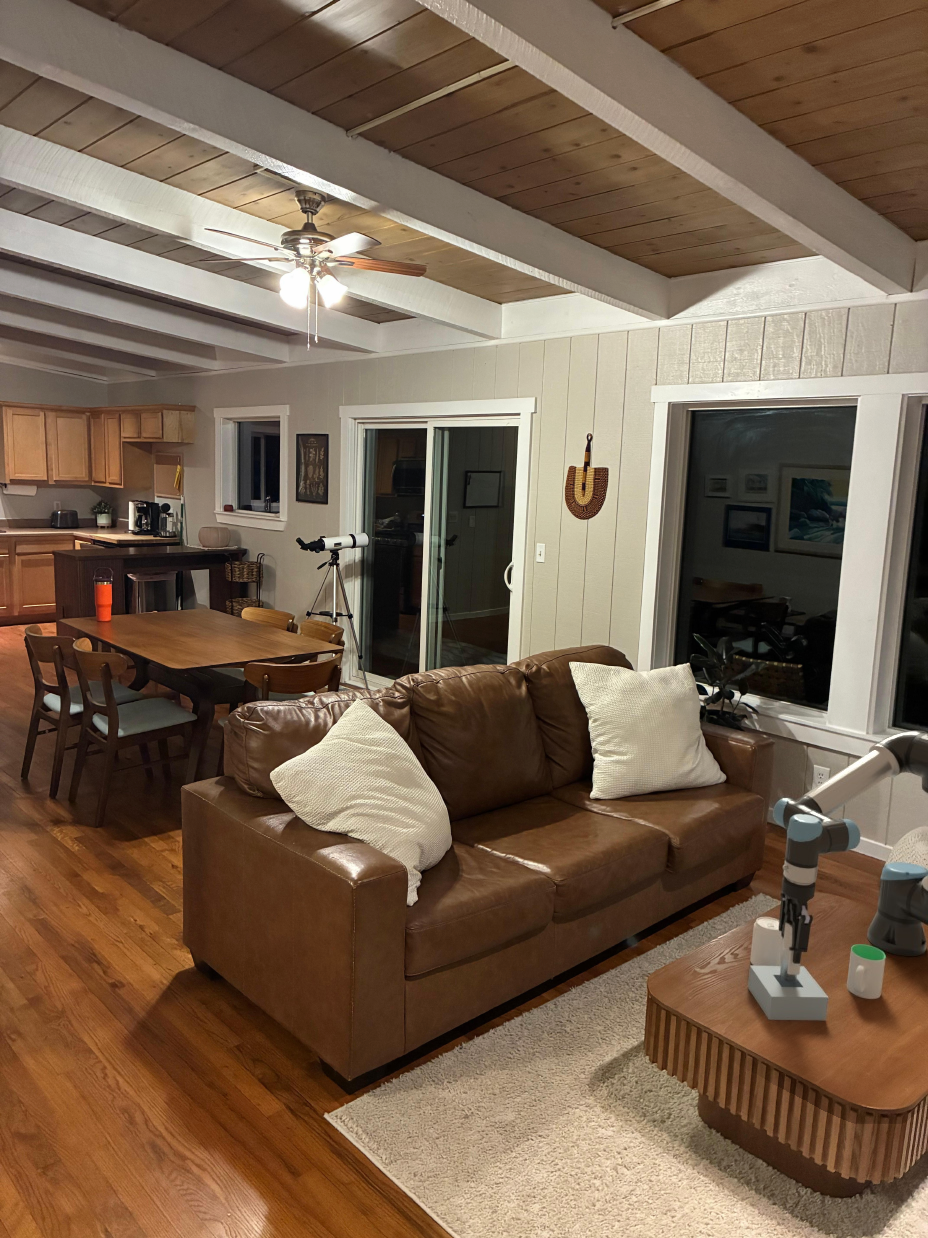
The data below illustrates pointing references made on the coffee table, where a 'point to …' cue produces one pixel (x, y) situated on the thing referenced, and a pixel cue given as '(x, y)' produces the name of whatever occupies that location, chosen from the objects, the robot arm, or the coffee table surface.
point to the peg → (787, 955)
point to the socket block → (787, 994)
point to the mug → (866, 971)
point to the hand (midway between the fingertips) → (789, 968)
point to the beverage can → (766, 942)
